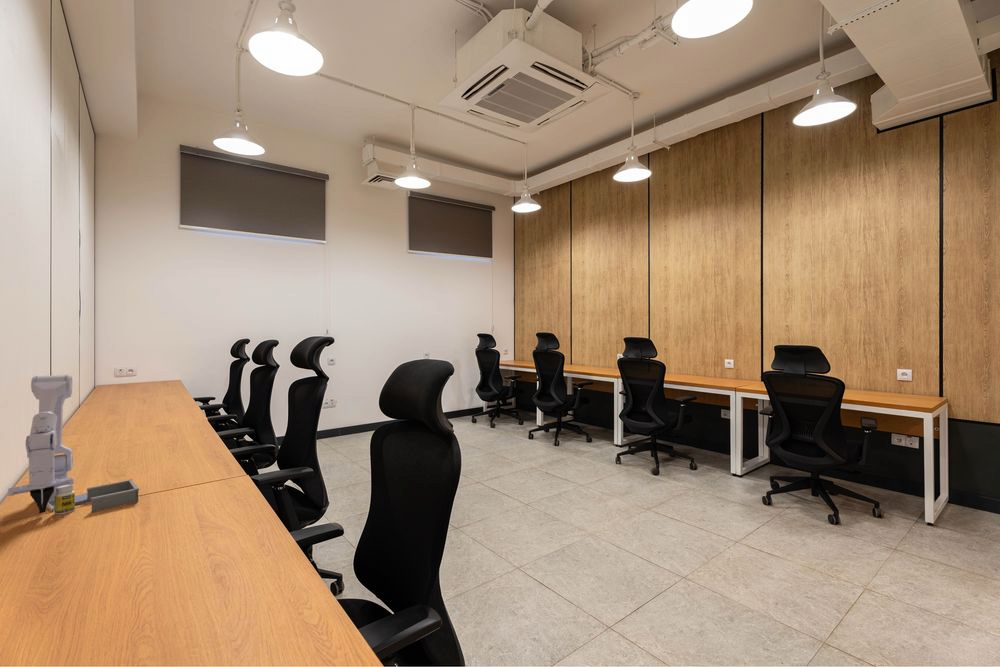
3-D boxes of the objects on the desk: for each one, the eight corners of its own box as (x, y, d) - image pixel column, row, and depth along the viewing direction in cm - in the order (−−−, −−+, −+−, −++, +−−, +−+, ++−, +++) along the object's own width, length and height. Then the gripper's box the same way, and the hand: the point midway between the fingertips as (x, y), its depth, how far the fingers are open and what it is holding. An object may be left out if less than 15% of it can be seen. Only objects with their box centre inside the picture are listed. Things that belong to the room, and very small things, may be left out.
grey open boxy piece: (86, 501, 156) (86, 488, 156) (132, 491, 165) (131, 479, 165) (91, 512, 146) (91, 498, 146) (139, 501, 155) (139, 488, 155)
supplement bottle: (62, 515, 144) (61, 489, 144) (50, 514, 145) (50, 488, 145) (78, 509, 148) (78, 484, 148) (67, 508, 149) (67, 483, 149)
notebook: (45, 505, 152) (45, 502, 152) (88, 495, 161) (88, 492, 161) (51, 511, 147) (51, 507, 147) (95, 500, 156) (95, 497, 156)
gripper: (7, 478, 134) (8, 522, 135) (74, 467, 145) (74, 508, 145) (8, 473, 139) (8, 516, 139) (72, 462, 150) (72, 502, 150)
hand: (42, 511), depth 143 cm, fingers closed
